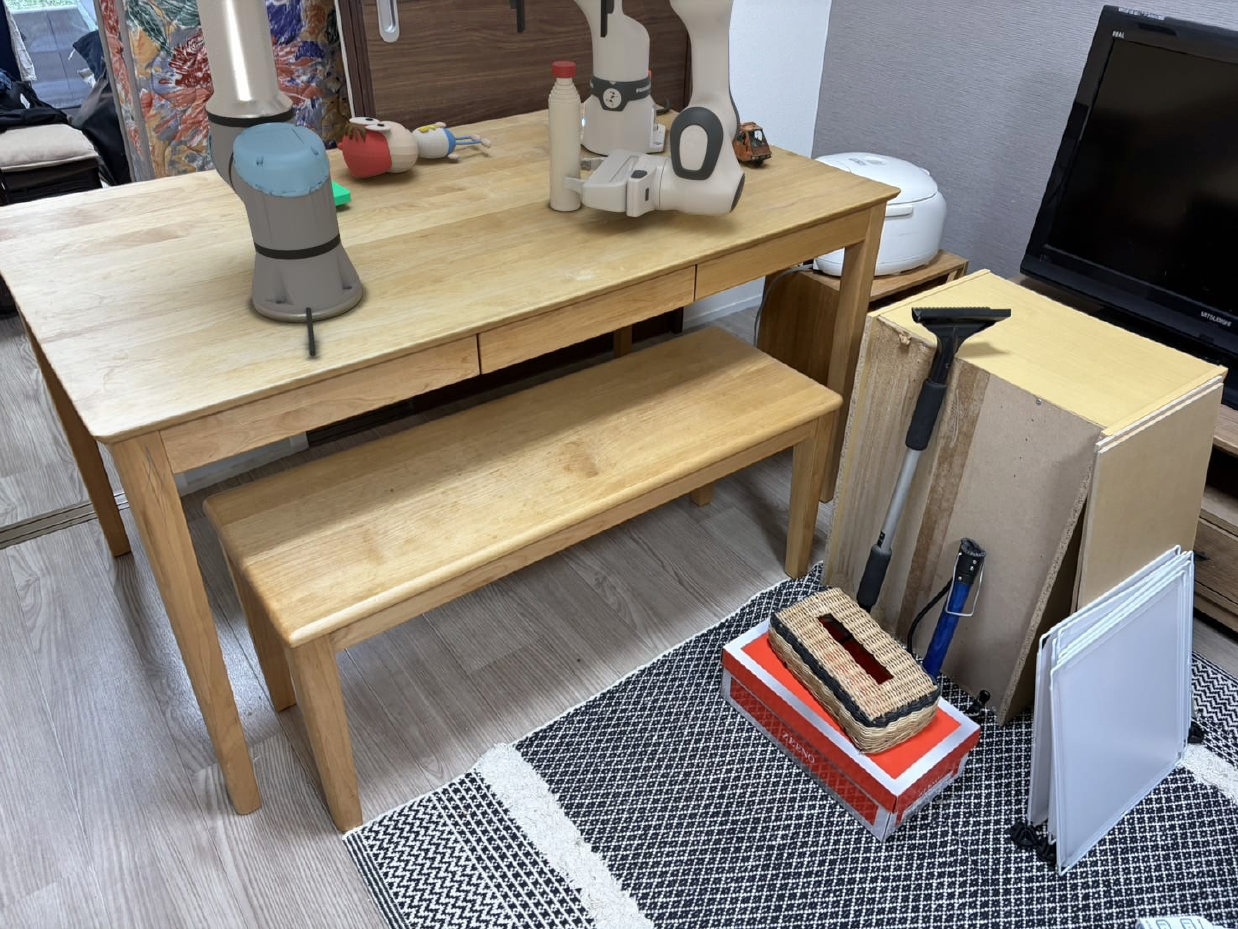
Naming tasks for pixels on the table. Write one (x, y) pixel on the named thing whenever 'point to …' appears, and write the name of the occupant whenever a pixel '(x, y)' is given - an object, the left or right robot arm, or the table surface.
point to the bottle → (564, 143)
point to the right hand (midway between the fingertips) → (572, 172)
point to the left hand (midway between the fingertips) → (562, 33)
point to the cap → (564, 69)
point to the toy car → (751, 144)
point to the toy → (395, 145)
